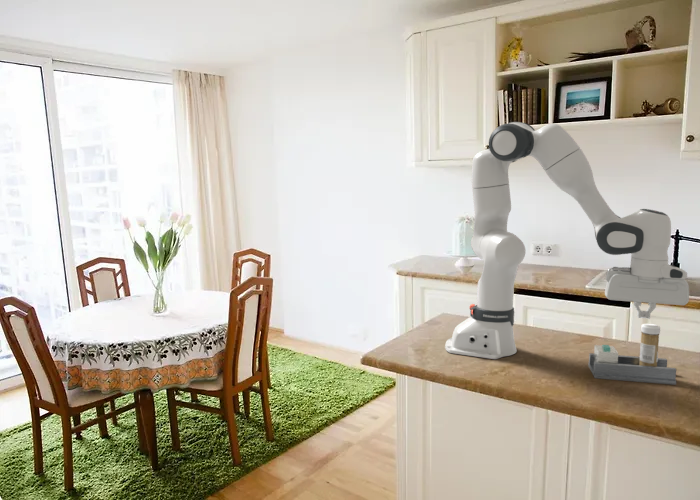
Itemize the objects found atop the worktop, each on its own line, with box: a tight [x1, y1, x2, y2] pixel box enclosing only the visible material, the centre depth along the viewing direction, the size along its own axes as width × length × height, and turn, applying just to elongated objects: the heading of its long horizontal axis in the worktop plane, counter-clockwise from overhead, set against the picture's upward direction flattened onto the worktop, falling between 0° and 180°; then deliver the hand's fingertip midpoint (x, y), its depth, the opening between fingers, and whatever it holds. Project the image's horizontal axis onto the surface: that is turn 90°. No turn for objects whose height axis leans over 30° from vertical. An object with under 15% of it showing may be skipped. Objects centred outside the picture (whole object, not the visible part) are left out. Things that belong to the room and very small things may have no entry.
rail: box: [587, 344, 677, 386], centre depth 146 cm, size 20×10×8 cm, turn 75°
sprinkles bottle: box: [639, 323, 661, 367], centre depth 145 cm, size 5×5×14 cm
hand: (643, 317), depth 145 cm, fingers closed
